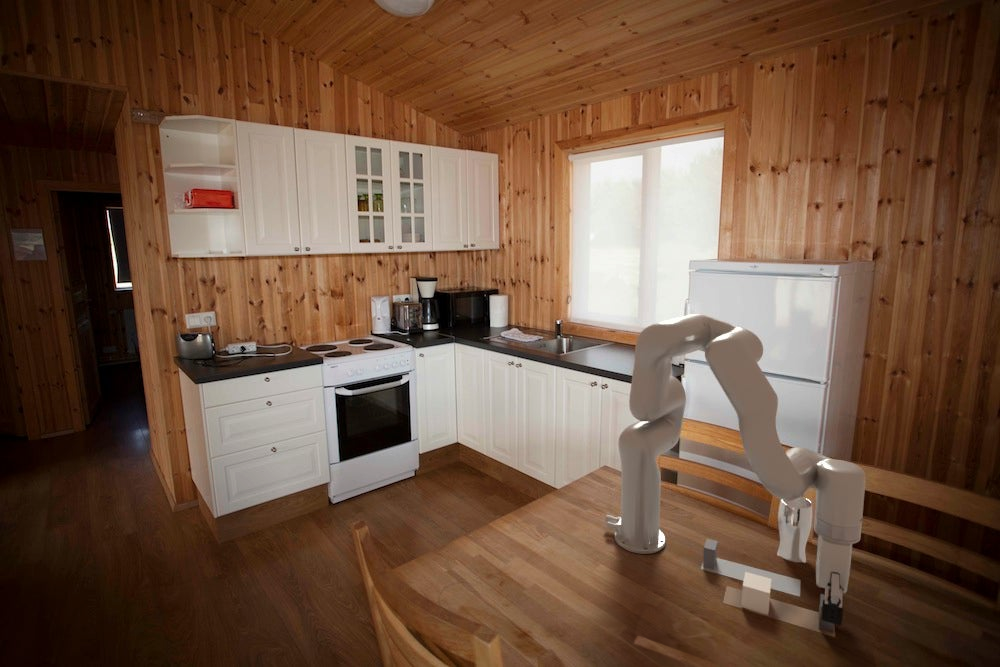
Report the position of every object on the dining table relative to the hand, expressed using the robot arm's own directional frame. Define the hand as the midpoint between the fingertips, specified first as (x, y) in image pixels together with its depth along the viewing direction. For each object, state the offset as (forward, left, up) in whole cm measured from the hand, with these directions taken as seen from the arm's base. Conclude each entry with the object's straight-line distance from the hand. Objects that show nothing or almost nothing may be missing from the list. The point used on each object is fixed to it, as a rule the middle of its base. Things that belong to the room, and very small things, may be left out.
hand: (830, 605), depth 103 cm
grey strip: (-15, +10, -6) cm, 19 cm away
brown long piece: (-9, 0, -6) cm, 11 cm away
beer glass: (-7, +22, -6) cm, 24 cm away
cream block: (-13, 0, -4) cm, 14 cm away
